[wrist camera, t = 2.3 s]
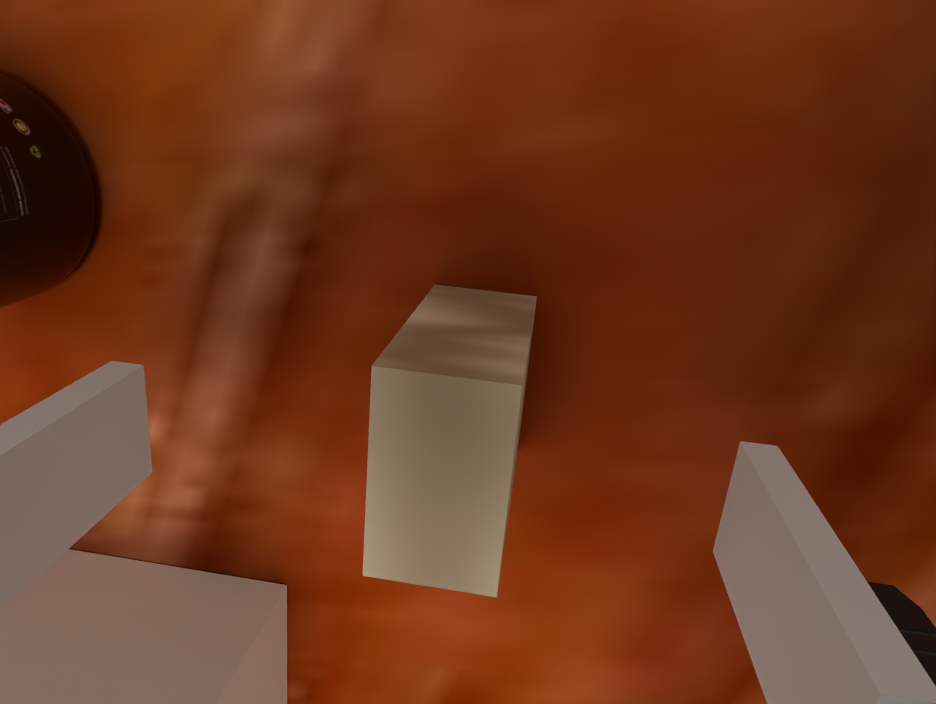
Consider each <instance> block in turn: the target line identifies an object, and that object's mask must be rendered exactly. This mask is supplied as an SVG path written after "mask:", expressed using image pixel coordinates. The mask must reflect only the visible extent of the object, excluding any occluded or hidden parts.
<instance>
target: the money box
mask: <svg viewBox="0 0 936 704" xmlns="http://www.w3.org/2000/svg"><path fill="white" fill-rule="evenodd" d="M0 704H287V585H284V584H278V583H272V582H265V581H259V580H253V579H247V578H241V577H235V576H229V575H223V574H217V573H211V572H205V571H199V570H193V569H187V568H180V567H174V566H168V565H162V564H156V563H150V562H144V561H138V560H132V559H126V558H120V557H114V556H108V555H102V554H95V553H89V552H83V551H77V550H71V549H68V550H67V551H66V552H65V553H64V554H62V555H61V556H60V557H59V558H58V559H57V560H56V561H55V562H54V563H53V564H51V565H50V566H49V567H48V568H47V569H46V570H45V571H44V572H43V573H42V574H41V575H39V576H38V577H37V578H36V579H35V580H34V581H33V582H32V583H31V584H30V585H28V586H27V587H26V588H25V589H24V590H23V591H22V592H21V593H20V594H19V595H17V596H16V597H15V598H14V599H13V600H12V601H11V602H10V603H9V604H8V605H7V606H5V607H4V608H3V609H2V610H1V611H0Z"/></svg>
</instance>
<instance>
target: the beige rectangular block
mask: <svg viewBox="0 0 936 704" xmlns="http://www.w3.org/2000/svg"><path fill="white" fill-rule="evenodd" d="M536 300H537V296H528V295H520V294H512V293H503V292H495V291H486V290H478V289H469V288H461V287H452V286H444V285H434V286H433V287H432V289H431V290H430V291H429V293H428V294H427V295H426V296H425V298H424V299H423V300H422V302H421V303H420V304H419V305H418V307H417V308H416V309H415V311H414V312H413V313H412V314H411V316H410V317H409V318H408V320H407V321H406V322H405V324H404V325H403V326H402V327H401V329H400V330H399V331H398V333H397V334H396V335H395V336H394V338H393V339H392V340H391V342H390V343H389V344H388V345H387V347H386V348H385V349H384V351H383V352H382V353H381V355H380V356H379V357H378V358H377V360H376V361H375V362H374V364H373V365H372V370H371V394H370V417H369V441H368V464H367V487H366V511H365V534H364V557H363V576H368V577H374V578H380V579H387V580H393V581H399V582H405V583H411V584H417V585H424V586H430V587H436V588H442V589H448V590H455V591H461V592H467V593H473V594H479V595H485V596H492V597H497V591H498V585H499V578H500V571H501V564H502V557H503V550H504V543H505V536H506V529H507V522H508V515H509V508H510V501H511V494H512V487H513V481H514V474H515V467H516V460H517V453H518V445H519V437H520V429H521V421H522V413H523V405H524V397H525V389H526V381H527V373H528V365H529V357H530V349H531V341H532V333H533V324H534V316H535V308H536Z"/></svg>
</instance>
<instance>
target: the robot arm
mask: <svg viewBox="0 0 936 704" xmlns="http://www.w3.org/2000/svg"><path fill="white" fill-rule="evenodd" d="M151 473H152V461H151V449H150V437H149V424H148V412H147V400H146V388H145V376H144V365H139V364H131V363H123V362H116V361H110V362H109V363H107V364H105V365H103V366H102V367H100V368H98V369H96V370H95V371H93V372H91V373H90V374H88V375H86V376H84V377H83V378H81V379H79V380H77V381H76V382H74V383H72V384H70V385H69V386H67V387H65V388H63V389H62V390H60V391H58V392H57V393H55V394H53V395H51V396H50V397H48V398H46V399H44V400H43V401H41V402H39V403H37V404H36V405H34V406H32V407H30V408H29V409H27V410H25V411H23V412H22V413H20V414H18V415H17V416H15V417H13V418H11V419H10V420H8V421H6V422H4V423H3V424H1V425H0V611H1V610H2V609H3V608H4V607H5V606H7V605H8V604H9V603H10V602H11V601H12V600H13V599H14V598H15V597H16V596H17V595H19V594H20V593H21V592H22V591H23V590H24V589H25V588H26V587H27V586H28V585H30V584H31V583H32V582H33V581H34V580H35V579H36V578H37V577H38V576H39V575H41V574H42V573H43V572H44V571H45V570H46V569H47V568H48V567H49V566H50V565H51V564H53V563H54V562H55V561H56V560H57V559H58V558H59V557H60V556H61V555H62V554H64V553H65V552H66V551H67V550H68V549H69V548H70V547H71V546H72V545H73V544H75V543H76V542H77V541H78V540H79V539H80V538H81V537H82V536H83V535H84V534H85V533H87V532H88V531H89V530H90V529H91V528H92V527H93V526H94V525H95V524H96V523H98V522H99V521H100V520H101V519H102V518H103V517H104V516H105V515H106V514H107V513H109V512H110V511H111V510H112V509H113V508H114V507H115V506H116V505H117V504H118V503H119V502H121V501H122V500H123V499H124V498H125V497H126V496H127V495H128V494H129V493H130V492H132V491H133V490H134V489H135V488H136V487H137V486H138V485H139V484H140V483H141V482H142V481H144V480H145V479H146V478H147V477H148V476H149V475H150V474H151ZM713 553H714V556H715V559H716V562H717V564H718V567H719V570H720V573H721V576H722V579H723V581H724V584H725V587H726V590H727V593H728V595H729V598H730V601H731V604H732V607H733V609H734V612H735V615H736V618H737V621H738V623H739V626H740V629H741V632H742V635H743V637H744V640H745V643H746V646H747V649H748V651H749V654H750V657H751V660H752V663H753V665H754V668H755V671H756V674H757V677H758V680H759V682H760V685H761V688H762V691H763V694H764V696H765V699H766V702H767V704H936V628H935V626H934V625H933V624H932V622H931V621H930V619H929V618H928V617H927V615H926V614H925V613H924V611H923V610H922V609H921V608H920V607H919V606H918V605H916V604H915V603H914V602H913V601H912V600H910V599H909V598H908V597H907V596H905V595H904V594H903V593H902V592H900V591H899V590H898V589H897V588H895V587H894V586H893V585H886V584H879V583H872V582H867V581H866V580H865V578H864V577H863V575H862V574H861V572H860V571H859V569H858V568H857V566H856V564H855V563H854V561H853V560H852V558H851V557H850V555H849V554H848V552H847V551H846V549H845V548H844V546H843V545H842V543H841V542H840V540H839V539H838V537H837V536H836V534H835V533H834V531H833V530H832V528H831V526H830V525H829V523H828V522H827V520H826V519H825V517H824V516H823V514H822V513H821V511H820V510H819V508H818V507H817V505H816V504H815V502H814V501H813V499H812V498H811V496H810V495H809V493H808V491H807V490H806V488H805V487H804V485H803V484H802V482H801V481H800V479H799V478H798V476H797V475H796V473H795V472H794V470H793V469H792V467H791V466H790V464H789V463H788V461H787V460H786V458H785V457H784V455H783V453H782V452H781V450H780V449H779V447H778V446H774V445H766V444H758V443H750V442H743V441H740V443H739V447H738V451H737V456H736V460H735V464H734V468H733V472H732V476H731V480H730V484H729V488H728V492H727V496H726V500H725V504H724V508H723V512H722V516H721V520H720V524H719V528H718V532H717V536H716V540H715V544H714V548H713Z"/></svg>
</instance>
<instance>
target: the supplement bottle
mask: <svg viewBox="0 0 936 704" xmlns="http://www.w3.org/2000/svg"><path fill="white" fill-rule="evenodd" d="M94 221H95V194H94V187H93V182H92V178H91V174H90V171H89V167H88V164H87V162H86V159H85V157H84V154H83V152H82V150H81V148H80V146H79V144H78V142H77V141H76V139H75V137H74V136H73V134H72V132H71V131H70V130H69V128H68V127H67V125H66V124H65V123H64V121H63V120H62V119H61V118H60V117H59V115H58V114H57V113H56V112H55V111H54V110H53V109H52V108H51V107H50V106H49V105H48V104H47V103H46V102H45V101H44V100H43V99H41V98H40V97H39V96H38V95H37V94H35V93H34V92H33V91H31V90H30V89H29V88H27V87H26V86H24V85H22V84H21V83H19V82H17V81H16V80H14V79H11V78H9V77H7V76H5V75H3V74H1V73H0V308H1V307H4V306H7V305H9V304H12V303H15V302H18V301H20V300H23V299H25V298H28V297H31V296H33V295H36V294H39V293H41V292H43V291H45V290H47V289H49V288H51V287H53V286H55V285H57V284H58V283H59V282H61V281H62V280H63V279H65V278H66V277H67V276H68V275H69V274H70V273H71V272H72V271H73V270H74V269H75V267H76V266H77V265H78V264H79V262H80V261H81V259H82V258H83V256H84V254H85V252H86V250H87V248H88V245H89V242H90V240H91V236H92V232H93V228H94Z"/></svg>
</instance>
